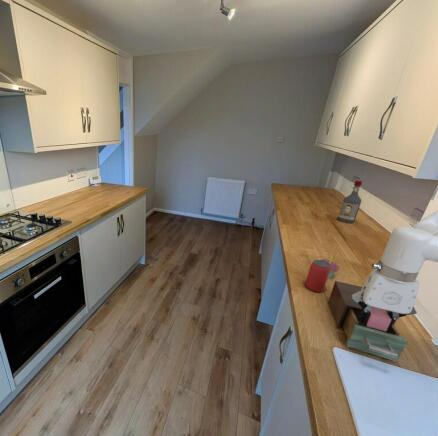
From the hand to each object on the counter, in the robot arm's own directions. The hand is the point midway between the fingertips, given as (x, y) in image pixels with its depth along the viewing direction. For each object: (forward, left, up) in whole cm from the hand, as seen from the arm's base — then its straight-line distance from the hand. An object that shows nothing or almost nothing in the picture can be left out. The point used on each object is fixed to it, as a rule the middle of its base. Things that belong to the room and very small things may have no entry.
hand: (373, 322), depth 71 cm
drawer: (0, 0, -7) cm, 7 cm away
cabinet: (0, -11, -8) cm, 14 cm away
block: (0, 0, 0) cm, 0 cm away
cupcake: (+4, -40, -8) cm, 41 cm away
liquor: (-24, -133, -8) cm, 135 cm away
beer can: (+10, -26, -8) cm, 29 cm away
